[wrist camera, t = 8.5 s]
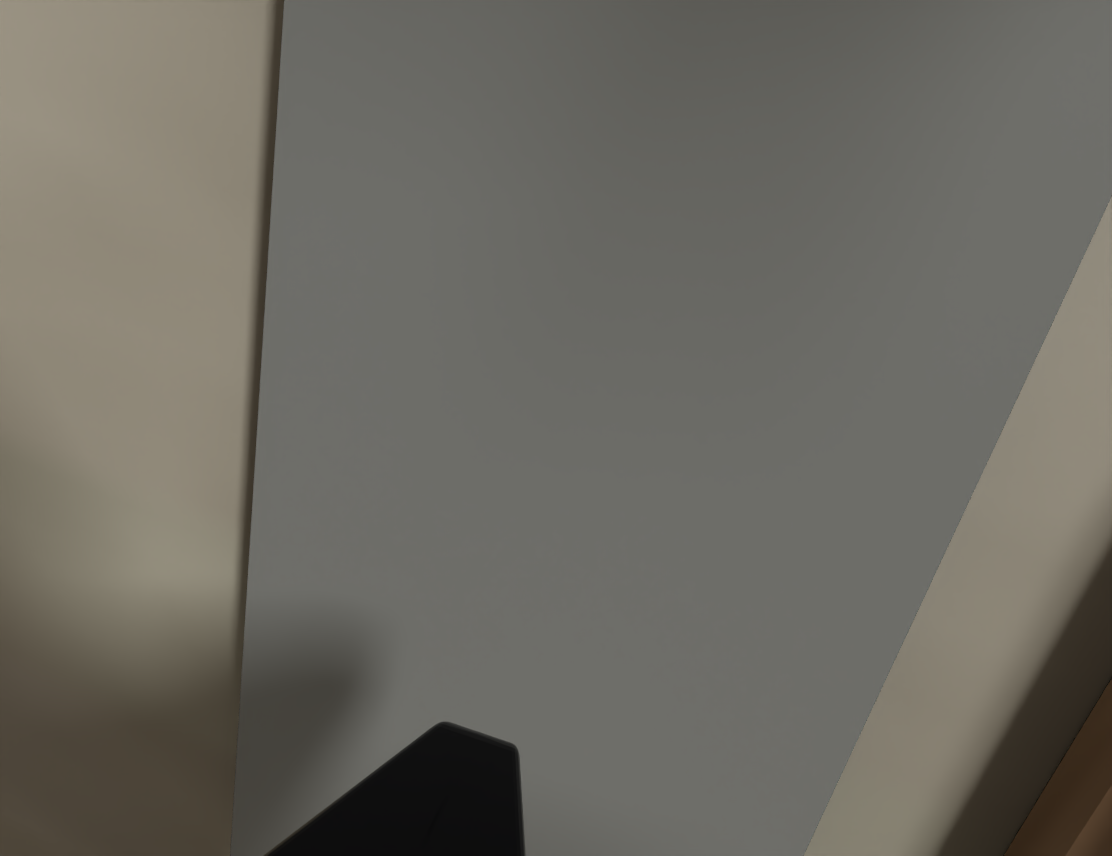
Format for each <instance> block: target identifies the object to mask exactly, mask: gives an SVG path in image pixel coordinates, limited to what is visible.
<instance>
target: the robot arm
mask: <svg viewBox="0 0 1112 856" xmlns="http://www.w3.org/2000/svg"><path fill="white" fill-rule="evenodd" d="M263 856H526V853H525V837H524V820H523V804H522V788H521V772H520V756H519V751H518V749H517V747H516V746H515V745H514V744H513V743H510V742H507V741H504V740H501V739H498V738H495V737H492V736H490V735H487V734H484V733H481V732H478V731H475V730H472V729H469V728H466V727H463V726H460V725H457V724H454V723H451V722H447V721H444V722H440V723H437V724H436V725H434V726H433V727H431V728H430V729H429V730H427V731H426V732H425V733H423V734H422V735H421V736H420V737H418V738H417V739H416V740H414V741H413V742H412V743H410V744H409V745H408V746H406V747H405V748H404V749H402V750H401V751H400V752H399V753H397V754H396V755H395V756H393V757H392V758H391V759H389V760H388V761H387V762H385V763H384V764H383V765H381V766H380V767H379V768H378V769H376V770H375V771H374V772H372V773H371V774H370V775H368V776H367V777H366V778H364V779H363V780H362V781H360V782H359V783H358V784H357V785H355V786H354V787H353V788H351V789H350V790H349V791H347V792H346V793H345V794H343V795H342V796H341V797H339V798H338V799H337V800H336V801H334V802H333V803H332V804H330V805H329V806H328V807H326V808H325V809H324V810H322V811H321V812H320V813H318V814H317V815H316V816H315V817H313V818H312V819H311V820H309V821H308V822H307V823H305V824H304V825H303V826H301V827H300V828H299V829H297V830H296V831H295V832H294V833H292V834H291V835H290V836H288V837H287V838H286V839H284V840H283V841H282V842H280V843H279V844H278V845H276V846H275V847H274V848H273V849H271V850H270V851H269V852H267V853H266V854H265V855H263Z"/></svg>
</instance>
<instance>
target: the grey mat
mask: <svg viewBox="0 0 1112 856" xmlns="http://www.w3.org/2000/svg"><path fill="white" fill-rule="evenodd" d="M1111 197H1112V0H284V12H283V28H282V43H281V59H280V75H279V91H278V107H277V123H276V138H275V154H274V170H273V186H272V202H271V218H270V233H269V249H268V265H267V281H266V297H265V313H264V328H263V344H262V360H261V376H260V392H259V408H258V423H257V439H256V455H255V471H254V487H253V503H252V518H251V534H250V550H249V566H248V582H247V598H246V613H245V629H244V645H243V661H242V677H241V692H240V708H239V724H238V740H237V756H236V772H235V787H234V803H233V819H232V835H231V851H230V856H263V855H265V854H266V853H267V852H269V851H270V850H271V849H273V848H274V847H275V846H276V845H278V844H279V843H280V842H282V841H283V840H284V839H286V838H287V837H288V836H290V835H291V834H292V833H294V832H295V831H296V830H297V829H299V828H300V827H301V826H303V825H304V824H305V823H307V822H308V821H309V820H311V819H312V818H313V817H315V816H316V815H317V814H318V813H320V812H321V811H322V810H324V809H325V808H326V807H328V806H329V805H330V804H332V803H333V802H334V801H336V800H337V799H338V798H339V797H341V796H342V795H343V794H345V793H346V792H347V791H349V790H350V789H351V788H353V787H354V786H355V785H357V784H358V783H359V782H360V781H362V780H363V779H364V778H366V777H367V776H368V775H370V774H371V773H372V772H374V771H375V770H376V769H378V768H379V767H380V766H381V765H383V764H384V763H385V762H387V761H388V760H389V759H391V758H392V757H393V756H395V755H396V754H397V753H399V752H400V751H401V750H402V749H404V748H405V747H406V746H408V745H409V744H410V743H412V742H413V741H414V740H416V739H417V738H418V737H420V736H421V735H422V734H423V733H425V732H426V731H427V730H429V729H430V728H431V727H433V726H434V725H436V724H437V723H440V722H444V721H447V722H451V723H454V724H457V725H460V726H463V727H466V728H469V729H472V730H475V731H478V732H481V733H484V734H487V735H490V736H492V737H495V738H498V739H501V740H504V741H507V742H510V743H513V744H514V745H515V746H516V747H517V749H518V751H519V756H520V772H521V788H522V804H523V820H524V837H525V853H526V856H804V853H805V851H806V849H807V847H808V845H809V843H810V841H811V838H812V836H813V834H814V832H815V830H816V828H817V826H818V823H819V821H820V819H821V817H822V815H823V813H824V811H825V808H826V806H827V804H828V802H829V800H830V798H831V796H832V794H833V791H834V789H835V787H836V785H837V783H838V781H839V779H840V776H841V774H842V772H843V770H844V768H845V766H846V764H847V761H848V759H849V757H850V755H851V753H852V751H853V749H854V746H855V744H856V742H857V740H858V738H859V736H860V734H861V731H862V729H863V727H864V725H865V723H866V721H867V719H868V716H869V714H870V712H871V710H872V708H873V706H874V704H875V702H876V699H877V697H878V695H879V693H880V691H881V689H882V687H883V684H884V682H885V680H886V678H887V676H888V674H889V672H890V669H891V667H892V665H893V663H894V661H895V659H896V657H897V654H898V652H899V650H900V648H901V646H902V644H903V642H904V639H905V637H906V635H907V633H908V631H909V629H910V627H911V624H912V622H913V620H914V618H915V616H916V614H917V612H918V610H919V607H920V605H921V603H922V601H923V599H924V597H925V595H926V592H927V590H928V588H929V586H930V584H931V582H932V580H933V577H934V575H935V573H936V571H937V569H938V567H939V565H940V562H941V560H942V558H943V556H944V554H945V552H946V550H947V547H948V545H949V543H950V541H951V539H952V537H953V535H954V532H955V530H956V528H957V526H958V524H959V522H960V520H961V518H962V515H963V513H964V511H965V509H966V507H967V505H968V503H969V500H970V498H971V496H972V494H973V492H974V490H975V488H976V485H977V483H978V481H979V479H980V477H981V475H982V473H983V470H984V468H985V466H986V464H987V462H988V460H989V458H990V455H991V453H992V451H993V449H994V447H995V445H996V443H997V440H998V438H999V436H1000V434H1001V432H1002V430H1003V428H1004V426H1005V423H1006V421H1007V419H1008V417H1009V415H1010V413H1011V411H1012V408H1013V406H1014V404H1015V402H1016V400H1017V398H1018V396H1019V393H1020V391H1021V389H1022V387H1023V385H1024V383H1025V381H1026V378H1027V376H1028V374H1029V372H1030V370H1031V368H1032V366H1033V363H1034V361H1035V359H1036V357H1037V355H1038V353H1039V351H1040V348H1041V346H1042V344H1043V342H1044V340H1045V338H1046V336H1047V334H1048V331H1049V329H1050V327H1051V325H1052V323H1053V321H1054V319H1055V316H1056V314H1057V312H1058V310H1059V308H1060V306H1061V304H1062V301H1063V299H1064V297H1065V295H1066V293H1067V291H1068V289H1069V286H1070V284H1071V282H1072V280H1073V278H1074V276H1075V274H1076V271H1077V269H1078V267H1079V265H1080V263H1081V261H1082V259H1083V256H1084V254H1085V252H1086V250H1087V248H1088V246H1089V244H1090V242H1091V239H1092V237H1093V235H1094V233H1095V231H1096V229H1097V227H1098V224H1099V222H1100V220H1101V218H1102V216H1103V214H1104V212H1105V209H1106V207H1107V205H1108V203H1109V201H1110V199H1111Z"/></svg>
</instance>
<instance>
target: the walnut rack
mask: <svg viewBox="0 0 1112 856" xmlns="http://www.w3.org/2000/svg"><path fill="white" fill-rule="evenodd" d="M1004 856H1112V679H1111V681H1110V682H1109V684H1108V686H1107V687H1106V689H1105V690H1104V692H1103V694H1102V695H1101V697H1100V699H1099V700H1098V702H1097V704H1096V705H1095V707H1094V709H1093V710H1092V712H1091V713H1090V715H1089V717H1088V718H1087V720H1086V722H1085V723H1084V725H1083V727H1082V728H1081V730H1080V731H1079V733H1078V735H1077V736H1076V738H1075V740H1074V741H1073V743H1072V745H1071V746H1070V748H1069V750H1068V751H1067V753H1066V754H1065V756H1064V758H1063V759H1062V761H1061V763H1060V764H1059V766H1058V768H1057V769H1056V771H1055V773H1054V774H1053V776H1052V777H1051V779H1050V781H1049V782H1048V784H1047V786H1046V787H1045V789H1044V791H1043V792H1042V794H1041V796H1040V797H1039V799H1038V800H1037V802H1036V804H1035V805H1034V807H1033V809H1032V810H1031V812H1030V814H1029V815H1028V817H1027V819H1026V820H1025V822H1024V823H1023V825H1022V827H1021V828H1020V830H1019V832H1018V833H1017V835H1016V837H1015V838H1014V840H1013V842H1012V843H1011V845H1010V846H1009V848H1008V850H1007V851H1006V853H1005V855H1004Z"/></svg>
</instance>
